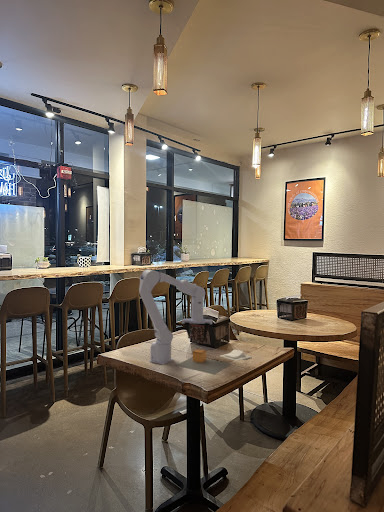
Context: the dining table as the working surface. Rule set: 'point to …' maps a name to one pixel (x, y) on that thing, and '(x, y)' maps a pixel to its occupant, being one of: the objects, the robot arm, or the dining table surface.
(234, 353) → the light switch
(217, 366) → the board
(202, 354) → the orange panelled cube
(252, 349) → the dining table surface
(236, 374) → the dining table surface
